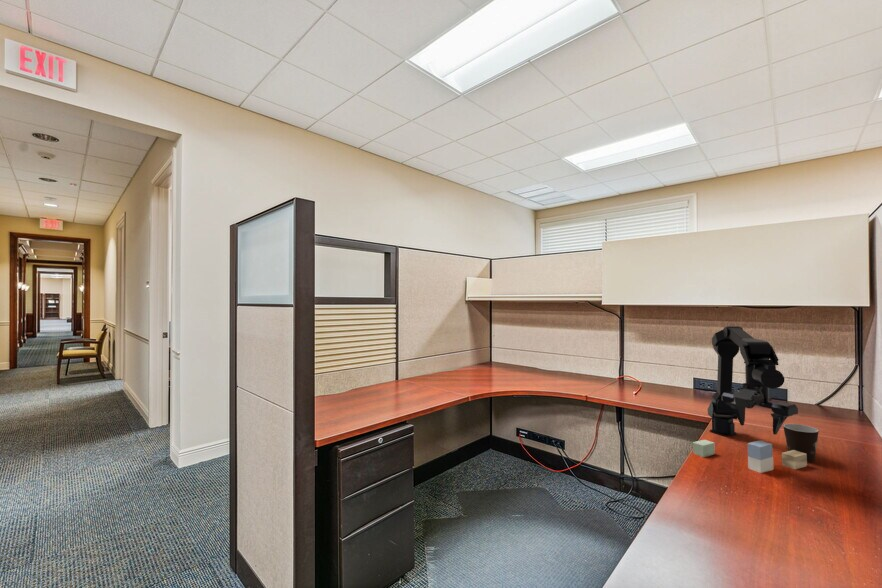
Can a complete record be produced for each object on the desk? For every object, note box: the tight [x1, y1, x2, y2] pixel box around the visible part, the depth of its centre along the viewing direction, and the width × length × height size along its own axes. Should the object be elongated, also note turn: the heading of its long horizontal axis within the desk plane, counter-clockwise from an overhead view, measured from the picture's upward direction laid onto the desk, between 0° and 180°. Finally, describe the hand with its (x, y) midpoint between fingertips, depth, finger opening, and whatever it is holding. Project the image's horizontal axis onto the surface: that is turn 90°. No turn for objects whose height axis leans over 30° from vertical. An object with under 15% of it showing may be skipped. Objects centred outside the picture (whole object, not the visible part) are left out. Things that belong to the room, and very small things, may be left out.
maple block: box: [781, 450, 808, 470], centre depth 124 cm, size 4×6×4 cm, turn 110°
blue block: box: [747, 439, 774, 460], centre depth 122 cm, size 4×6×4 cm, turn 111°
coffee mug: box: [782, 423, 820, 463], centre depth 130 cm, size 12×9×10 cm
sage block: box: [692, 439, 716, 458], centre depth 134 cm, size 4×6×4 cm, turn 112°
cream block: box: [747, 455, 774, 474], centre depth 122 cm, size 4×6×4 cm, turn 110°
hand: (758, 429), depth 124 cm, fingers open, 9 cm apart
